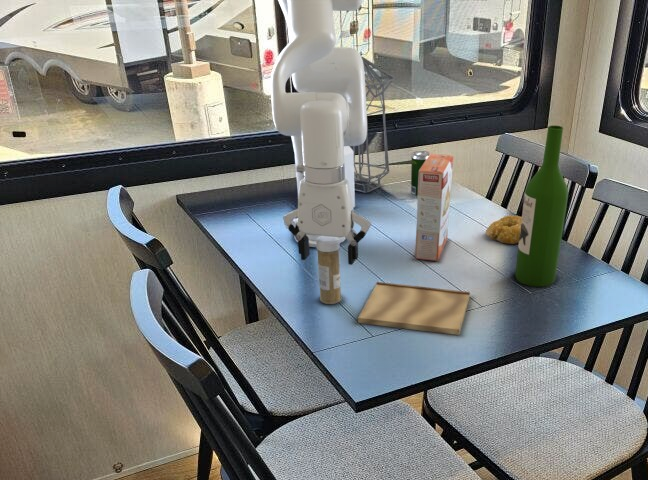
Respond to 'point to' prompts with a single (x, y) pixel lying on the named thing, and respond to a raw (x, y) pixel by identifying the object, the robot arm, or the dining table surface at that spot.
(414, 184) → the beer can
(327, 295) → the sprinkles bottle
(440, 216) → the cracker box
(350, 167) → the milk carton
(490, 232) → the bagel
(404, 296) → the board
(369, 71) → the geometric lantern
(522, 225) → the wine bottle
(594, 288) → the dining table surface
